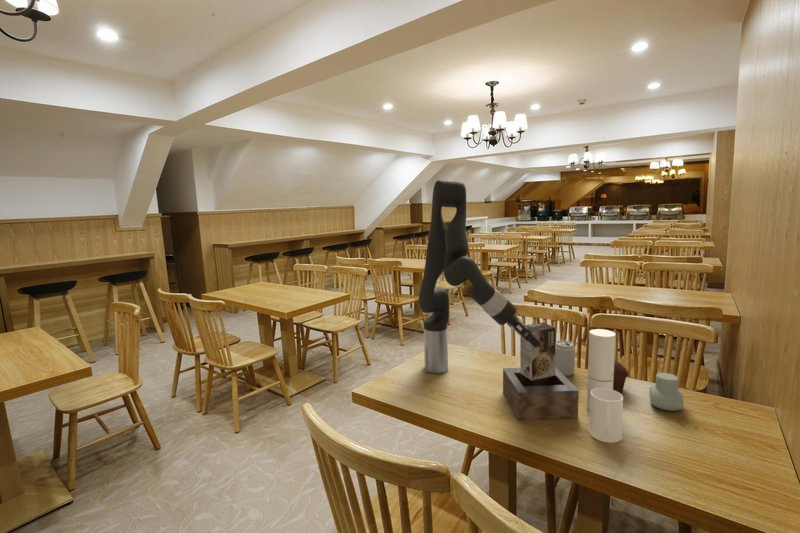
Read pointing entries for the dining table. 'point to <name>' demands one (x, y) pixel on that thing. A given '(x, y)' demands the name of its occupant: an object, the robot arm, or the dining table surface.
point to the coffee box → (538, 352)
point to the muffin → (619, 376)
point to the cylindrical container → (600, 360)
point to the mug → (606, 415)
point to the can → (565, 357)
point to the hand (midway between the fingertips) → (533, 340)
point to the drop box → (540, 396)
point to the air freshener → (666, 392)
